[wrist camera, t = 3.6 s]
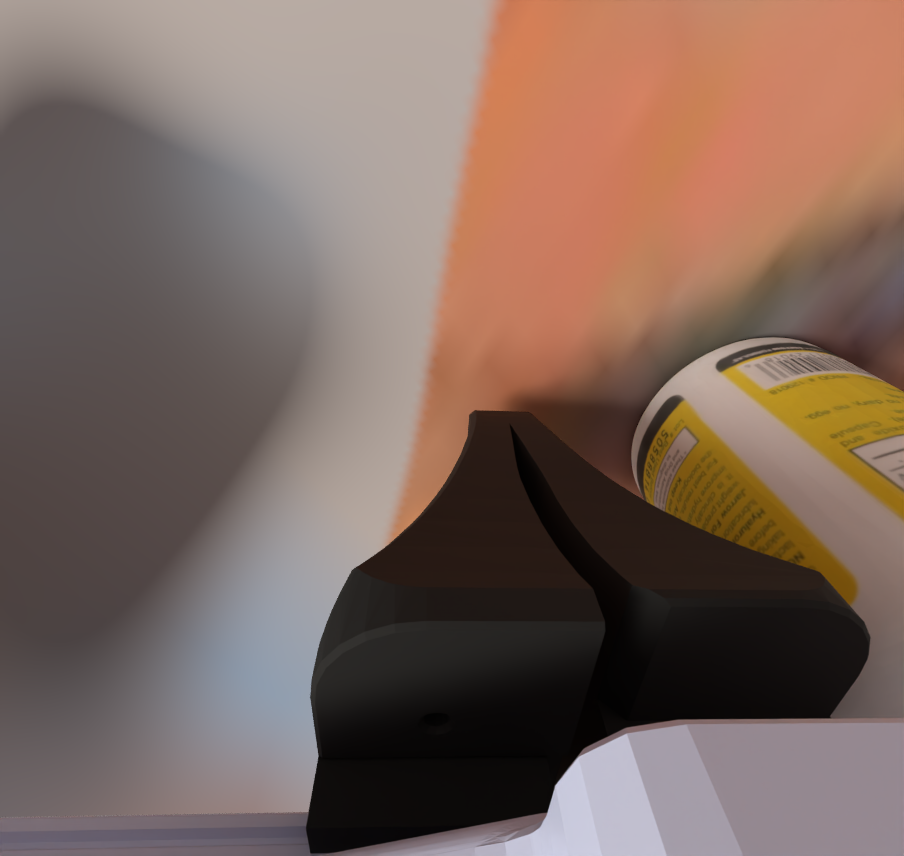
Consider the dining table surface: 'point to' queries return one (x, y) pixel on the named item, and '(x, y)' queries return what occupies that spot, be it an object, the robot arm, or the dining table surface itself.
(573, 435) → the dining table surface
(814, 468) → the supplement bottle
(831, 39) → the dining table surface
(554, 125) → the dining table surface
